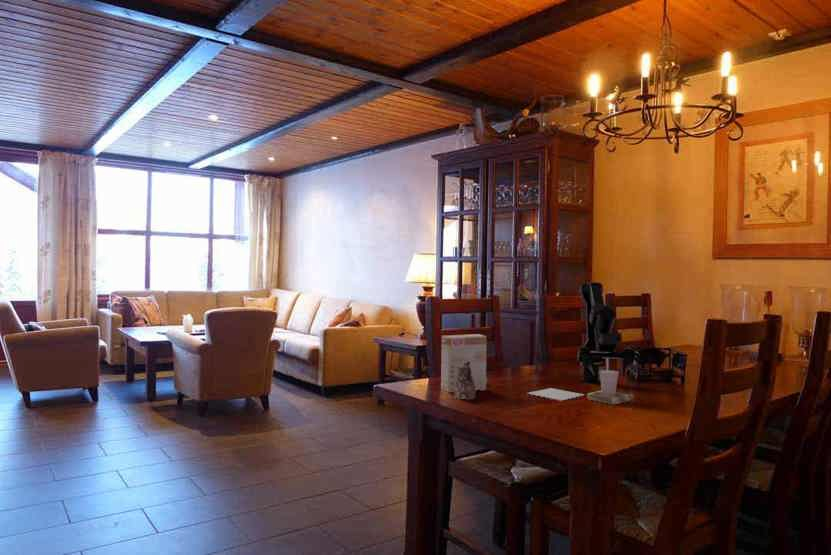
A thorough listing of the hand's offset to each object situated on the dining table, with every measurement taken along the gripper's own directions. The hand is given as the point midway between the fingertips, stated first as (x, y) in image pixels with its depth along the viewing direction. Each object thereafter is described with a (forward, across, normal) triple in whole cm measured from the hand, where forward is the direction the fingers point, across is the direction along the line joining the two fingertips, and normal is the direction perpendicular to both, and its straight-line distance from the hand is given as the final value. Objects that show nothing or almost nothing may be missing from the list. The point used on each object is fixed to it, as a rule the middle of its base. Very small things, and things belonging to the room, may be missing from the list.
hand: (609, 375), depth 197 cm
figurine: (+10, -48, +3) cm, 49 cm away
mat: (+2, -17, +10) cm, 20 cm away
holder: (+6, 0, +6) cm, 8 cm away
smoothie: (+6, 0, +6) cm, 9 cm away
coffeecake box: (+1, -49, +12) cm, 50 cm away
